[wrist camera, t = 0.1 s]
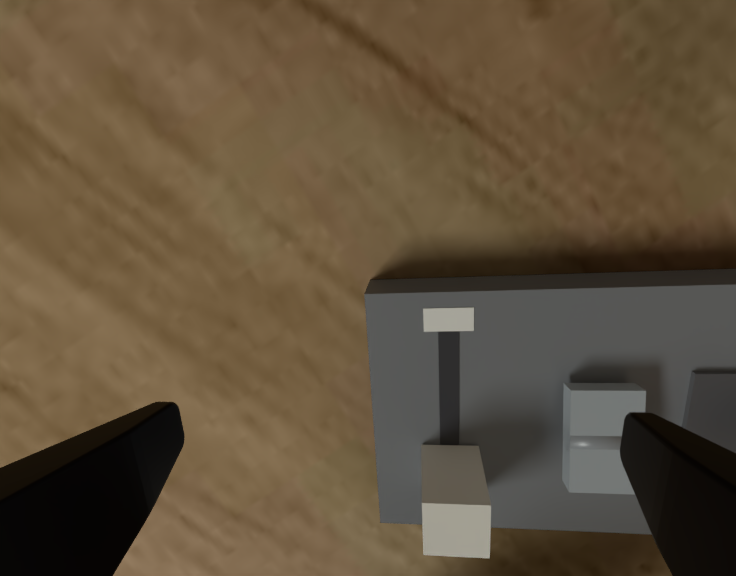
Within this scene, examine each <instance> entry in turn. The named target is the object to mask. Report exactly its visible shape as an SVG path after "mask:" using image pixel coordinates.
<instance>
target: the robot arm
mask: <svg viewBox="0 0 736 576" xmlns="http://www.w3.org/2000/svg"><path fill="white" fill-rule="evenodd" d="M183 444H184V431H183V426H182V421H181V416H180V411H179V408H178V406H177V404H175V403H174V402H155V403H152V404H150V405H147V406H145V407H143V408H140V409H138V410H136V411H133V412H131V413H129V414H126V415H124V416H122V417H119V418H117V419H114V420H112V421H110V422H107V423H105V424H103V425H100V426H98V427H96V428H93V429H91V430H88V431H86V432H84V433H81V434H79V435H77V436H74V437H72V438H70V439H67V440H65V441H63V442H60V443H58V444H55V445H53V446H51V447H48V448H46V449H44V450H41V451H39V452H37V453H34V454H32V455H30V456H27V457H25V458H22V459H20V460H18V461H15V462H13V463H11V464H8V465H6V466H4V467H1V468H0V576H113V574H114V573H115V571H116V569H117V568H118V566H119V564H120V563H121V561H122V559H123V558H124V556H125V554H126V553H127V551H128V550H129V548H130V546H131V545H132V543H133V541H134V540H135V538H136V536H137V535H138V533H139V531H140V530H141V528H142V526H143V525H144V523H145V521H146V520H147V518H148V516H149V514H150V512H151V510H152V509H153V507H154V505H155V503H156V501H157V499H158V497H159V495H160V493H161V491H162V488H163V486H164V484H165V482H166V480H167V478H168V476H169V474H170V472H171V470H172V468H173V466H174V464H175V462H176V460H177V458H178V456H179V454H180V451H181V449H182V447H183ZM620 458H621V462H622V464H623V467H624V469H625V472H626V474H627V476H628V479H629V481H630V484H631V486H632V488H633V491H634V493H635V496H636V498H637V500H638V503H639V505H640V508H641V510H642V513H643V515H644V517H645V520H646V522H647V525H648V527H649V529H650V532H651V534H652V536H653V538H654V540H655V543H656V545H657V547H658V549H659V550H660V552H661V554H662V556H663V558H664V560H665V562H666V564H667V566H668V568H669V569H670V571H671V573H672V575H673V576H736V453H734V452H732V451H730V450H728V449H726V448H724V447H722V446H720V445H718V444H716V443H714V442H712V441H710V440H708V439H705V438H703V437H701V436H699V435H697V434H695V433H693V432H691V431H689V430H687V429H685V428H683V427H681V426H679V425H676V424H674V423H672V422H670V421H668V420H666V419H664V418H662V417H660V416H658V415H656V414H654V413H649V412H629V413H628V414H627V415H626V416H625V419H624V425H623V431H622V438H621V445H620Z"/></svg>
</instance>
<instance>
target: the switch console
mask: <svg viewBox="0 0 736 576" xmlns="http://www.w3.org/2000/svg"><path fill="white" fill-rule="evenodd" d="M365 308H366V322H367V337H368V351H369V365H370V379H371V394H372V408H373V422H374V437H375V451H376V465H377V480H378V494H379V508H380V522H381V523H400V524H422V476H421V445H465V446H479V450H480V454H481V459H482V464H483V469H484V474H485V478H486V483H487V488H488V493H489V498H490V502H491V527H492V528H516V529H539V530H562V531H585V532H608V533H631V534H651V532H650V529H649V527H648V525H647V522H646V520H645V517H644V515H643V513H642V510H641V508H640V505H639V503H638V500H637V498H636V496H635V495H634V494H602V493H571V492H569V491H568V489H567V488H566V486H565V484H564V482H563V481H562V465H563V436H562V428H563V391H564V383H636V384H637V385H639V386H640V387H641V388H643V389H644V390H646V407H645V412H649V413H654V414H656V415H658V416H660V417H662V418H664V419H666V420H668V421H670V422H672V423H674V424H676V425H679V426H681V427H683V428H685V429H687V430H689V431H691V432H693V433H695V434H697V435H699V436H701V437H703V438H705V439H708V440H710V441H712V442H714V443H716V444H718V445H720V446H722V447H724V448H726V449H728V450H730V451H732V452H734V453H736V269H709V270H676V271H644V272H611V273H578V274H545V275H512V276H480V277H447V278H414V279H381V280H370V281H369V284H368V287H367V289H366V292H365Z"/></svg>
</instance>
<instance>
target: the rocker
mask: <svg viewBox="0 0 736 576" xmlns="http://www.w3.org/2000/svg"><path fill="white" fill-rule="evenodd" d="M645 407H646V390H644V389H643V388H641V387H640V386H639V385H637V384H636V383H564V391H563V428H562V436H563V465H562V481H563V482H564V484H565V486H566V488H567V489H568V491H569V492H571V493H602V494H634V495H635V493H634V491H633V488H632V486H631V484H630V481H629V479H628V476H627V474H626V472H625V469H624V467H623V464H622V462H621V458H620V445H621V438H622V431H623V425H624V419H625V416H626V415H627V414H628V413H629V412H645Z"/></svg>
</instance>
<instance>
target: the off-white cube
mask: <svg viewBox="0 0 736 576" xmlns="http://www.w3.org/2000/svg"><path fill="white" fill-rule="evenodd" d="M421 476H422V525H423V555H433V556H452V557H471V558H490V531H491V502H490V498H489V493H488V488H487V483H486V478H485V474H484V469H483V464H482V459H481V454H480V450H479V446H465V445H421Z"/></svg>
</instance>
